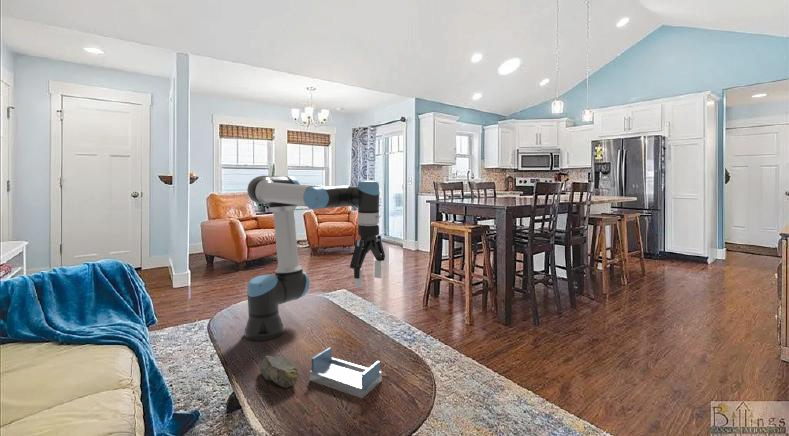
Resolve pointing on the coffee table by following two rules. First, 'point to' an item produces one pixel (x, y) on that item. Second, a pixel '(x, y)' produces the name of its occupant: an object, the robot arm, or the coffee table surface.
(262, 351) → the coffee table surface
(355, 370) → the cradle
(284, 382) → the rock
